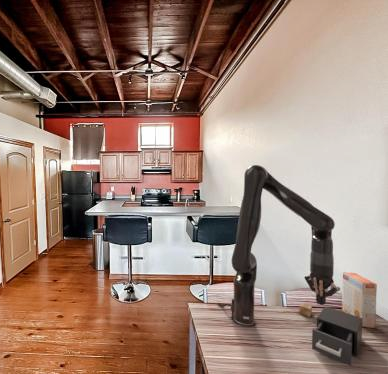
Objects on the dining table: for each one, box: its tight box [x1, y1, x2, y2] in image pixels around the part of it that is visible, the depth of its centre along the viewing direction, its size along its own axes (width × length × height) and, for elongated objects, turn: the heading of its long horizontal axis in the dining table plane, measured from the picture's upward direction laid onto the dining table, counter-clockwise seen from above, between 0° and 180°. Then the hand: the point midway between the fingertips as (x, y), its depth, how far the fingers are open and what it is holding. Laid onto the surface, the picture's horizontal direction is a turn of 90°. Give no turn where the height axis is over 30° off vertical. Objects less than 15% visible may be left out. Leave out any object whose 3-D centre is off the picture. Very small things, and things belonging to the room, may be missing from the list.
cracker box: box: [341, 271, 378, 329], centre depth 114 cm, size 14×6×21 cm, turn 168°
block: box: [299, 302, 313, 318], centre depth 118 cm, size 4×4×4 cm
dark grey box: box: [316, 305, 363, 357], centre depth 99 cm, size 15×13×10 cm
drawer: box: [311, 321, 354, 367], centre depth 90 cm, size 18×11×8 cm, turn 130°
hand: (320, 304), depth 96 cm, fingers closed
